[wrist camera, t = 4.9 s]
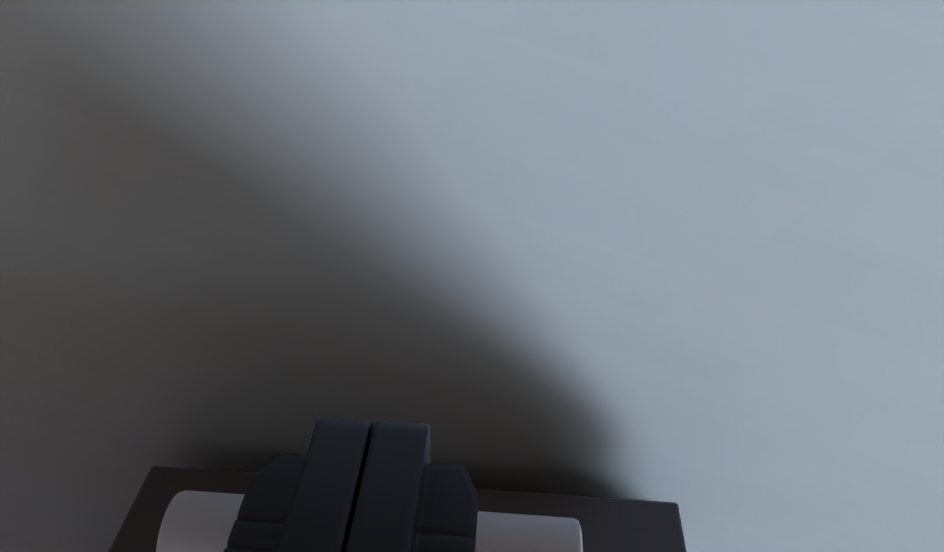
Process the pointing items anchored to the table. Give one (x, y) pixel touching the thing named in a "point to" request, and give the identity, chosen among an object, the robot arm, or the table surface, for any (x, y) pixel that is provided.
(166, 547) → the drawer
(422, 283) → the table surface
